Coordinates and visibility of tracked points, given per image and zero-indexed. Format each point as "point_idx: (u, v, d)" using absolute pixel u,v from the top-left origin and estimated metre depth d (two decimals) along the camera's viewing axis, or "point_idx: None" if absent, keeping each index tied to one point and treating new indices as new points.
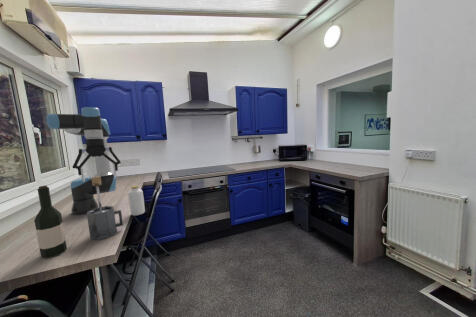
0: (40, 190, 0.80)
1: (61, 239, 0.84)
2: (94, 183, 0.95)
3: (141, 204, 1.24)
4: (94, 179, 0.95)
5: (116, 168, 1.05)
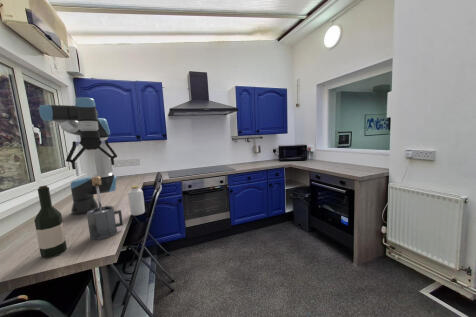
0: (40, 190, 0.80)
1: (61, 239, 0.84)
2: (94, 183, 0.95)
3: (141, 204, 1.24)
4: (94, 179, 0.95)
5: (112, 162, 0.99)
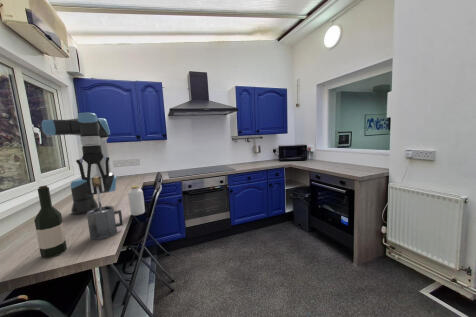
0: (40, 190, 0.80)
1: (61, 239, 0.84)
2: (94, 183, 0.95)
3: (141, 204, 1.24)
4: (94, 179, 0.95)
5: (104, 181, 0.98)
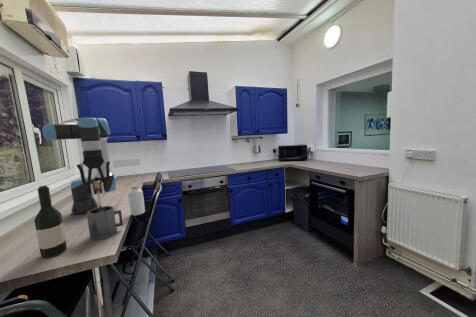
0: (40, 190, 0.80)
1: (61, 239, 0.84)
2: (95, 187, 0.95)
3: (141, 204, 1.24)
4: (95, 183, 0.95)
5: (104, 186, 0.98)
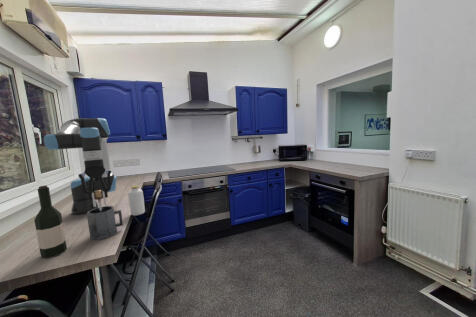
0: (40, 190, 0.80)
1: (61, 239, 0.84)
2: (96, 197, 0.96)
3: (141, 204, 1.24)
4: (96, 193, 0.96)
5: (106, 195, 0.99)
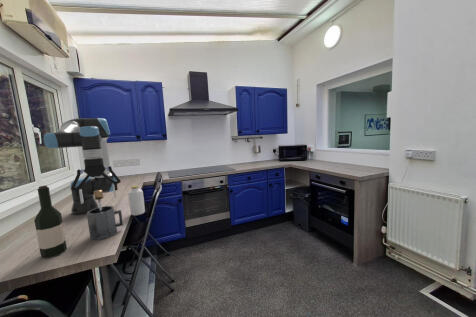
0: (40, 190, 0.80)
1: (61, 239, 0.84)
2: (96, 197, 0.96)
3: (141, 204, 1.24)
4: (96, 193, 0.96)
5: (116, 188, 1.01)
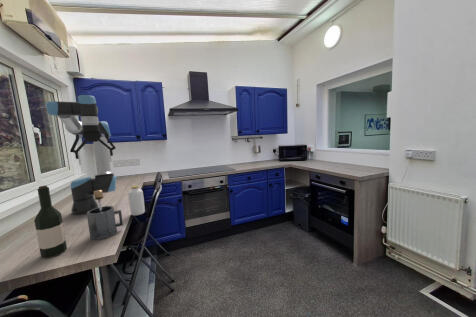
0: (40, 190, 0.80)
1: (61, 239, 0.84)
2: (96, 197, 0.96)
3: (141, 204, 1.24)
4: (96, 193, 0.96)
5: (111, 153, 1.12)
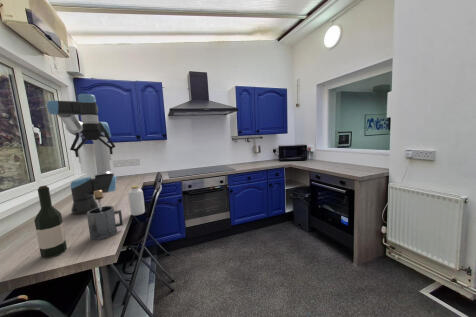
0: (40, 190, 0.80)
1: (61, 239, 0.84)
2: (96, 197, 0.96)
3: (141, 204, 1.24)
4: (96, 193, 0.96)
5: (111, 152, 1.12)
